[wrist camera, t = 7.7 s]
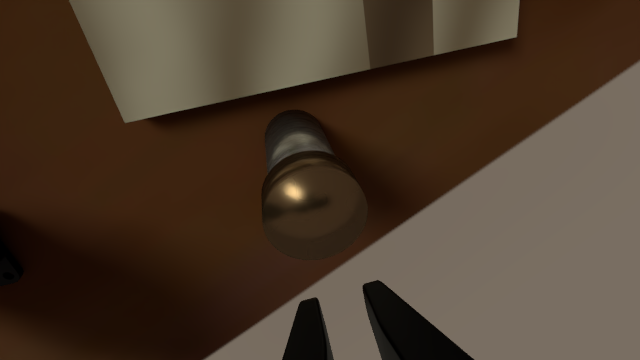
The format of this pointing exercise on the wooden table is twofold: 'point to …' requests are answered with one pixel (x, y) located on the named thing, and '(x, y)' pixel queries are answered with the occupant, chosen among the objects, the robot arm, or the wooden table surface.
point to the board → (268, 43)
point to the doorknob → (308, 191)
